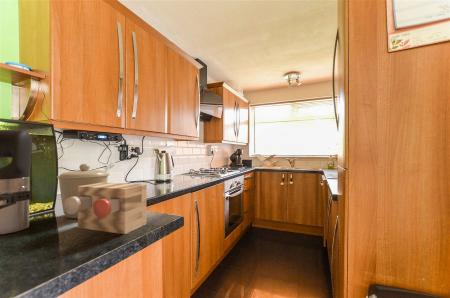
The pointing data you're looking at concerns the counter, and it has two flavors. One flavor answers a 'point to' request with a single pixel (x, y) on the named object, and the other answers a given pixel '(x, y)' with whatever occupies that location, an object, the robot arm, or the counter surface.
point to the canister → (79, 183)
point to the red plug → (106, 206)
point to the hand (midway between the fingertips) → (30, 194)
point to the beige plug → (77, 204)
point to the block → (120, 220)
